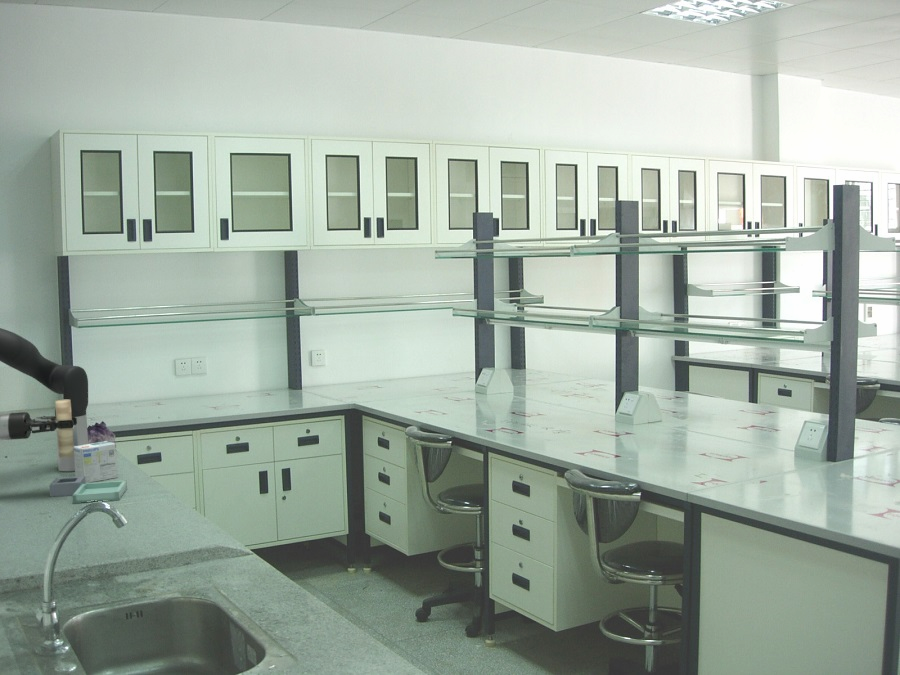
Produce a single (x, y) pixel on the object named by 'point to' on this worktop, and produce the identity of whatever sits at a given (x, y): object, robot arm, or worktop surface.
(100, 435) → the geode
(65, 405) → the dowel
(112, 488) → the tray
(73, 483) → the socket block
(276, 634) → the worktop surface
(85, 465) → the light bulb box
